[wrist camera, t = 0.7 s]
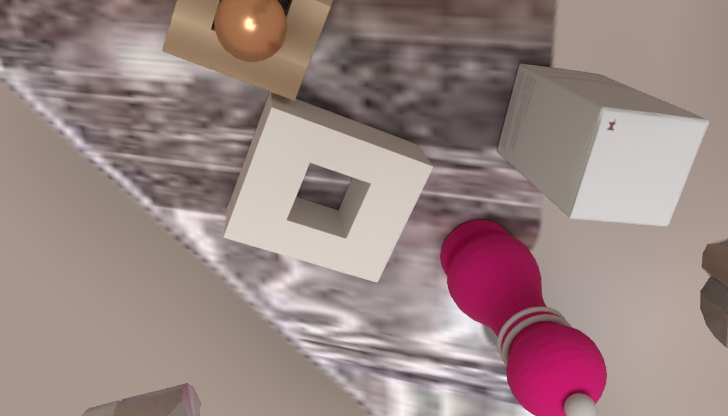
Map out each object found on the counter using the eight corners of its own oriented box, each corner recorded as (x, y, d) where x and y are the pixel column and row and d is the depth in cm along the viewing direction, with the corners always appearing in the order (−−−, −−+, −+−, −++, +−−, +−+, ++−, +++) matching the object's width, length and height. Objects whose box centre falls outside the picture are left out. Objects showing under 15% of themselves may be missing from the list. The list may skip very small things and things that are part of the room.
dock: (270, 89, 43) (271, 107, 39) (417, 144, 47) (433, 166, 42) (227, 208, 47) (223, 237, 42) (366, 251, 50) (377, 282, 46)
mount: (209, -92, 38) (204, -94, 35) (339, -33, 41) (344, -30, 38) (168, 43, 41) (162, 50, 38) (292, 90, 44) (294, 100, 41)
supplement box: (493, 153, 48) (565, 220, 37) (518, 60, 45) (603, 103, 34) (576, 162, 50) (669, 230, 38) (605, 74, 47) (715, 119, 36)
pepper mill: (531, 237, 52) (672, 397, 34) (481, 299, 54) (589, 482, 36) (468, 198, 50) (585, 349, 32) (417, 265, 52) (500, 443, 34)
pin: (235, -34, 40) (227, -25, 31) (289, -11, 41) (297, 5, 32) (217, 21, 41) (205, 46, 32) (270, 42, 42) (272, 72, 33)
